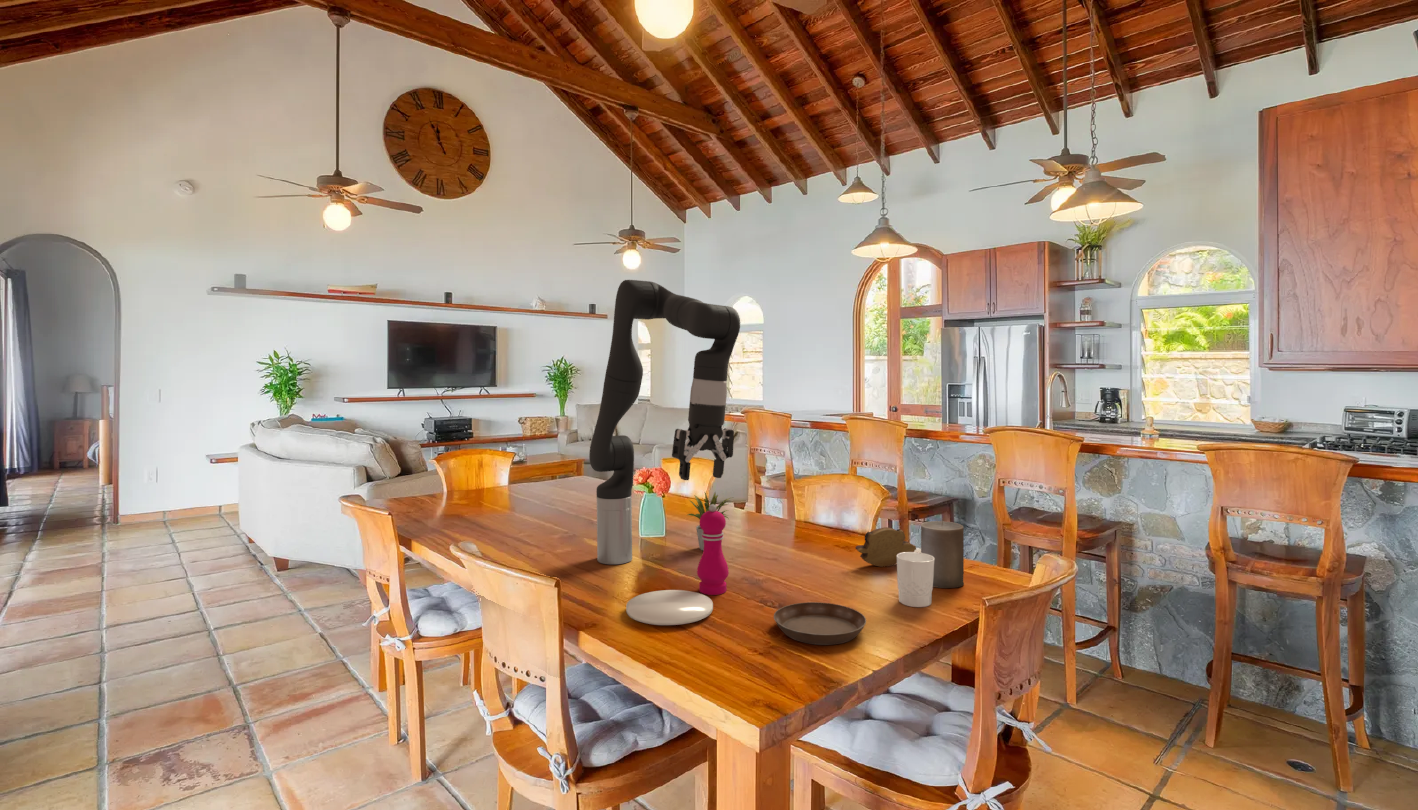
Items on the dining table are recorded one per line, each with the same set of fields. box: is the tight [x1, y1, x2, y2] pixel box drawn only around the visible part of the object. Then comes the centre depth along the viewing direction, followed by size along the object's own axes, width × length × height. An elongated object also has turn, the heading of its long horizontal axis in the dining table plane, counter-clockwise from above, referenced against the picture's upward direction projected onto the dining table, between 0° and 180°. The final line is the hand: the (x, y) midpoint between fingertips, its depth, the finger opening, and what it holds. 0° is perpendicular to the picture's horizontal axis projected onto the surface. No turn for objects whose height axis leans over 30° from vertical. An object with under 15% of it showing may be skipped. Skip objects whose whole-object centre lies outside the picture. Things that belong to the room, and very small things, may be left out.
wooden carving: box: [855, 526, 917, 568], centre depth 173 cm, size 16×5×10 cm, turn 108°
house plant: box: [687, 490, 734, 551], centre depth 188 cm, size 14×14×16 cm
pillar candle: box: [920, 519, 965, 589], centre depth 158 cm, size 10×10×15 cm
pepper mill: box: [696, 504, 730, 596], centre depth 153 cm, size 7×7×20 cm
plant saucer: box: [773, 601, 867, 646], centre depth 130 cm, size 18×18×3 cm
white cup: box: [896, 551, 935, 608], centre depth 145 cm, size 8×8×10 cm
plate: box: [625, 589, 714, 626], centre depth 140 cm, size 18×18×2 cm
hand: (701, 478), depth 140 cm, fingers open, 8 cm apart
